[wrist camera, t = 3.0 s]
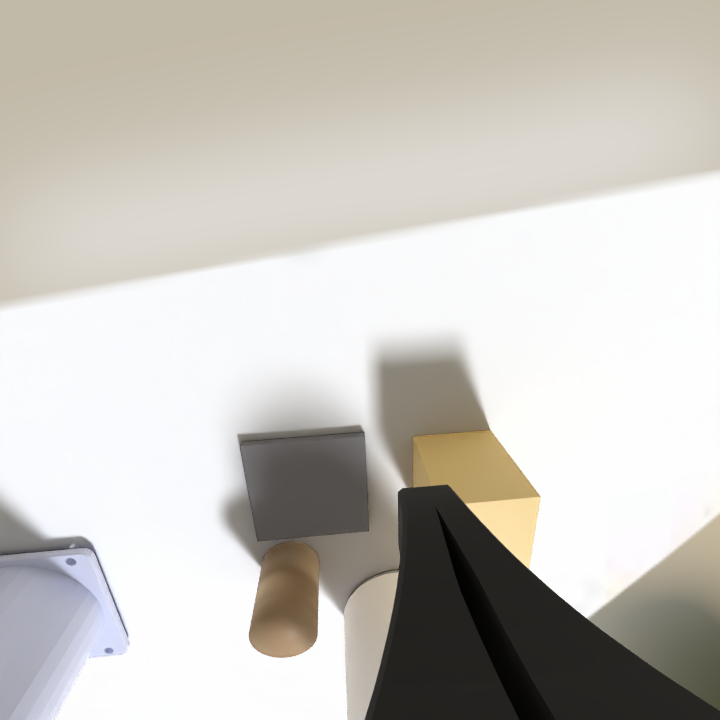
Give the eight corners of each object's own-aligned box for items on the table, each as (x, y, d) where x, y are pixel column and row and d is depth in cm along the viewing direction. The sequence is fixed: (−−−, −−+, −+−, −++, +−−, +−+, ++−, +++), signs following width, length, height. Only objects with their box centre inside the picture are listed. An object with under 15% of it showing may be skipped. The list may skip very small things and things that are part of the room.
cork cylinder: (266, 586, 22) (254, 660, 19) (258, 544, 21) (244, 615, 17) (321, 580, 22) (320, 653, 19) (316, 539, 21) (314, 608, 18)
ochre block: (412, 498, 21) (437, 580, 16) (413, 435, 19) (440, 506, 15) (484, 492, 21) (528, 571, 16) (490, 429, 20) (540, 496, 15)
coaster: (258, 535, 21) (257, 541, 20) (241, 441, 19) (239, 446, 18) (368, 525, 21) (368, 531, 21) (364, 432, 19) (364, 436, 19)
